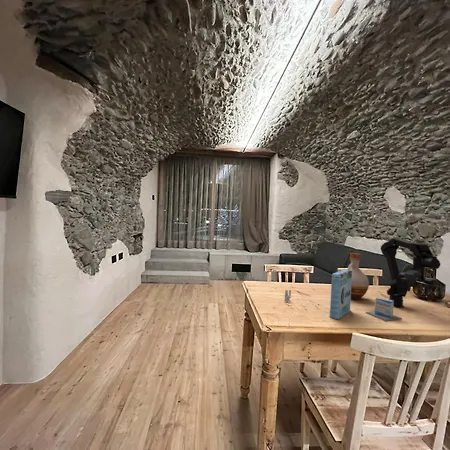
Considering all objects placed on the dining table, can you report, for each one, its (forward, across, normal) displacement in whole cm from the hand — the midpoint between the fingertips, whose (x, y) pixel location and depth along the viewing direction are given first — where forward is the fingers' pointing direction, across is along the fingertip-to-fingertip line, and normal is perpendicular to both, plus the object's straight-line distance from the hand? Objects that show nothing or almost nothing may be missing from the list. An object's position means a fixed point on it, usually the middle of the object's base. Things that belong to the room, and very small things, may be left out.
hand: (417, 293), depth 146 cm
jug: (+12, -33, -12) cm, 37 cm away
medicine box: (+12, -3, -21) cm, 24 cm away
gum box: (+12, -11, -43) cm, 46 cm away
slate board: (+12, -3, -21) cm, 24 cm away
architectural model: (+13, -33, -55) cm, 66 cm away
